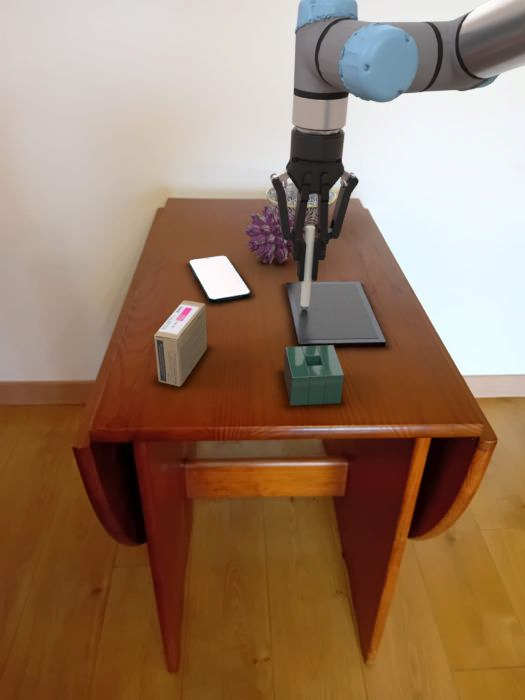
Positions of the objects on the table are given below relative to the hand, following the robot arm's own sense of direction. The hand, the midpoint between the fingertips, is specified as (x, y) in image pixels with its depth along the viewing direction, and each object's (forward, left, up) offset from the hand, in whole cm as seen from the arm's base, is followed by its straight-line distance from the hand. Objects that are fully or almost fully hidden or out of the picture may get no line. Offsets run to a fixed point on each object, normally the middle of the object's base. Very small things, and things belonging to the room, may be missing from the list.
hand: (306, 276), depth 89 cm
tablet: (-3, -4, -7) cm, 9 cm away
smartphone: (+19, +4, -7) cm, 21 cm away
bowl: (+29, -27, -8) cm, 40 cm away
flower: (+19, -10, -8) cm, 23 cm away
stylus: (0, 0, -6) cm, 6 cm away
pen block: (-15, +13, -7) cm, 21 cm away
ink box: (+1, +24, -8) cm, 25 cm away
